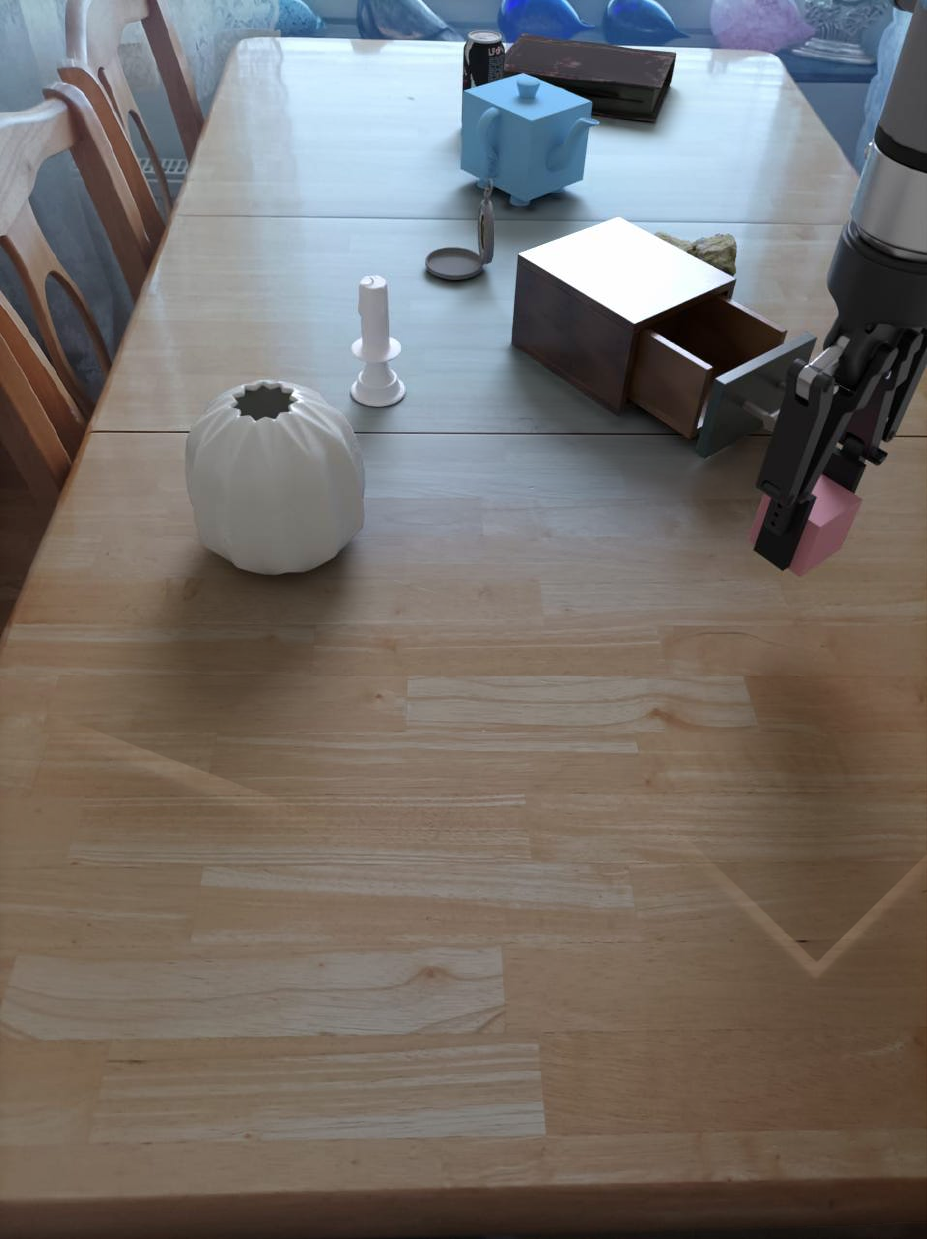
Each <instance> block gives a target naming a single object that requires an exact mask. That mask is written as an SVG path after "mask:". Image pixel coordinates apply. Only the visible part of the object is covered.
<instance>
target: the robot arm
mask: <svg viewBox="0 0 927 1239" xmlns="http://www.w3.org/2000/svg"><path fill="white" fill-rule="evenodd" d="M883 1H885V2H886V3H888V4H890V5H891V6H892V7H893V8H894V9H897V10H898V11H901V12H908V13H910V14H912V15H911V18H910V22H909V24H908V28H907V31H906V34H905V38H904V40H903V44H902V47H901V51H900V53H899V57H898V60H897V63H896V67H895V69H894V72H893V76H892V79H891V83H890V86H889V89H888V92H887V94H886V95H887V96H886V99H885V102H884V105H883V108H882V112H881V114H880V117H879V119H878V121H877V124H876V127H875V131H874V136H873V139H872V141H871V142H870V143H868V145H867V146H866V147H865V149H864V152H863V157H864V158H863V159H864V160H865V163H864V165H863V168H862V172H861V174H860V177H859V180H858V183H857V186H856V189H855V192H854V196H853V199H852V201H851V205H850V207H849V211H850V216H851V218H849V219H848V220H846V222H845V223H844V224H843V226H842V229H841V230H840V231H841V232H840V235H839V237H838V241H837V244H836V246H835V250H834V253H833V256H832V259H831V262H830V265H829V268H828V271H827V273H826V274H827V275H826V287H827V290H828V292H829V294H830V296H831V297H832V299H833V301H834V303H835V306H836V309H837V312H838V313H837V317H836V318H835V320H834V322H833V324H832V326H831V327H830V329H829V330H828V332H827V333H826V336H825V338H824V340H823V344H822V352H821V353H820V354H819V355H818V356H817V357H815V359H813V360H812V361H811V362H809V363H806V362H805V361H803V360H801V359H799V358H798V359H796V360H794V361H793V362H792V364H791V365H790V366H789V368H788V370H787V374H786V388H785V396H784V399H783V402H782V405H781V408H780V411H779V414H778V417H777V420H776V423H775V426H774V429H773V431H772V433H771V436H770V439H769V442H768V445H767V448H766V451H765V454H764V457H763V460H762V464H761V466H760V469H759V472H758V476H757V478H756V482H755V489H757V490H758V491H760V492H762V493H763V494H764V493H765V494H766V495H768V496H769V497H771V500H770V503H769V506H768V509H767V511H766V514H765V517H764V520H763V523H762V526H761V529H760V532H759V535H758V537H757V540H756V543H755V545H754V546H753V549H752V551H753V552H755V553H756V554H757V555H759V556H760V557H762V558H763V559H765V560H766V561H768V562H769V563H771V564H772V565H773V566H775V567H776V568H777V569H779V570H780V571H782V572H785V571H786V570H788V567H789V566H790V564H791V561H792V559H793V556H794V554H795V551H796V549H797V546H798V544H799V541H800V538H801V536H802V533H803V531H804V528H805V526H806V523H807V521H808V519H809V516H810V514H811V511H812V509H813V506H814V503H815V501H816V498H817V497H816V496H815V495H813V494H812V491H813V489H814V487H815V485H816V483H817V481H818V479H819V477H820V476H821V474H823V475H825V476H826V477H828V478H829V479H831V480H833V481H834V482H836V483H837V484H839V485H841V486H842V487H844V488H845V489H847V490H849V491H850V492H852V493H853V494H856V491H857V489H858V486H859V484H860V482H861V479H862V477H863V474H864V472H865V470H866V468H867V465H868V464H866V461H868V462H870V463H871V464H873V465H874V466H876V467H878V466H881V465H882V464H883V463H884V462H885V461H886V459H887V457H888V455H889V452H887V451H886V450H883V449H882V448H880V445H881V442H883V443H886V444H888V443H890V442H891V441H892V440H893V439H894V438H895V437H896V435H897V432H898V431H899V428H900V426H901V423H902V421H903V419H904V418H905V414H906V412H907V410H908V408H909V405H910V404H911V401H912V399H913V396H914V395H915V393H916V390H917V387H918V385H919V384H920V380H921V378H922V376H923V374H924V372H925V370H926V368H927V0H883ZM838 444H840V445H841V446H842V447H841V448H839V447H837V445H838Z"/></svg>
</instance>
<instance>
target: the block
mask: <svg viewBox="0 0 927 1239" xmlns="http://www.w3.org/2000/svg"><path fill="white" fill-rule="evenodd" d="M812 494H813V495H815V496H816V497H817V498H816V501H815V503H814V506H813V509H812V511H811V514H810V516H809V519H808V521H807V523H806V526H805V528H804V531H803V533H802V536H801V538H800V541H799V544H798V546H797V549H796V551H795V554H794V556H793V559H792V561H791V564H790V566H789V567H788V568H787V570H789V571H790V572H792V573H793V574H795V575H796V576H797V577H799V578H802V576H804V575H805V574H807V573H808V572H810V571H812V570H813V569H815V568H816V567H817V566H818V565H820V564H821V563H822V562H824V561H825V560H827V559H828V558H830V557H832V556H833V555H834V554H835V553H837V552H838V551H840V550H841V549H842V547H843V545H844V543H845V540H846V539H847V537H848V534H849V532H850V529H851V527H852V525H853V523H854V520H855V518H856V516H857V514H858V511H859V509H860V508H861V507H860V506H861V505H862V503H863V498H862V497H860V496H859V495H857V494H856V493H854V494H853V493H852V492H850V491H849V490H847V489H845V488H844V487H842V486H841V485H839V484H837V483H836V482H834V481H833V480H831V479H829V478H828V477H826V476H825V475H823V474H821V476H820V477H819V479H818V481H817V483H816V485H815V487H814V489H813V491H812ZM770 500H771V497H769V496H768V495H766V494H765V493H763V494H762V497H761V499H760V504H759V507H758V510H757V512H756V515H755V518H754V521H753V524H752V527H751V530H750V533H749V536H748V538H747V541H748V542H749V543H751V544H752V545H754V546H755V543H756V540H757V537H758V535H759V532H760V529H761V526H762V523H763V520H764V517H765V514H766V511H767V509H768V506H769V503H770Z"/></svg>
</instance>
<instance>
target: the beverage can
mask: <svg viewBox="0 0 927 1239" xmlns="http://www.w3.org/2000/svg"><path fill="white" fill-rule="evenodd" d="M467 37H468V38H467V39H466V40H467V41H466V42H465V44H464V46H463V50H462V53H463V54H462V83H461V84H462V86H461V100H462V99H463V91H464V90H468V89H471V88H475V87H478V86H481V85H485V84H488V83H491V82H495V81H498V80H502V79H504V62H505V53H506V48H505V45H504V44H503V40H502V35H501V34H500V33H499V32H496V31H493V30H485V29H484V30H483V29H479V30H474V31H471V32H469V33H468V35H467ZM461 123H462V119H461Z"/></svg>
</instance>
